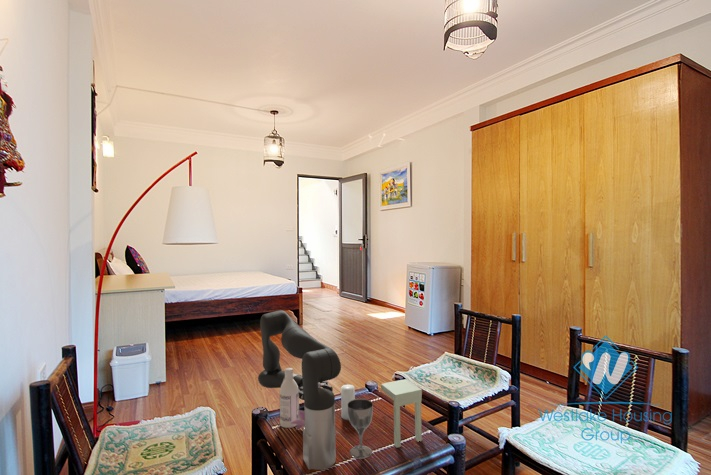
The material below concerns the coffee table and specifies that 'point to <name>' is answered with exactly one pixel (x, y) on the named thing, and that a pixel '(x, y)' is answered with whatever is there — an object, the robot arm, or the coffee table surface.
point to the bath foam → (289, 400)
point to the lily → (300, 420)
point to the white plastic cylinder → (346, 399)
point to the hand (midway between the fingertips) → (325, 393)
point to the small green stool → (404, 395)
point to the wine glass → (360, 424)
